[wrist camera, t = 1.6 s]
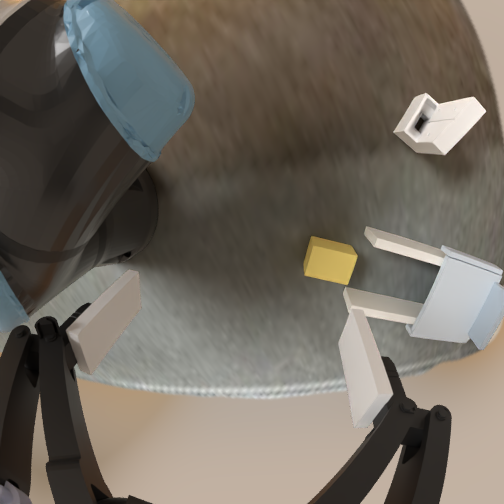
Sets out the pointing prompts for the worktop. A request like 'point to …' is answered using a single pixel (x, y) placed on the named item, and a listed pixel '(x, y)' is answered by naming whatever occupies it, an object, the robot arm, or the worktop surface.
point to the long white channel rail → (389, 305)
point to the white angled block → (437, 123)
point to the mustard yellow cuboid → (329, 260)
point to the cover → (462, 301)
